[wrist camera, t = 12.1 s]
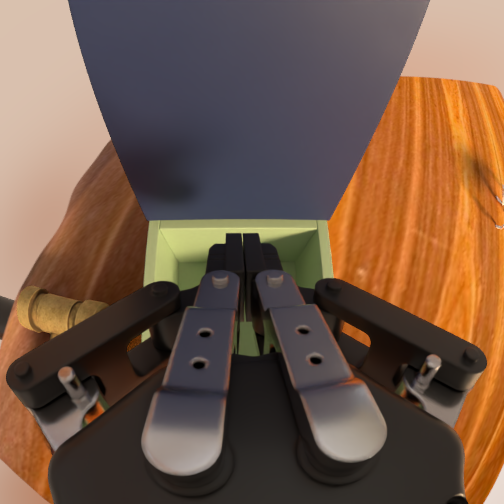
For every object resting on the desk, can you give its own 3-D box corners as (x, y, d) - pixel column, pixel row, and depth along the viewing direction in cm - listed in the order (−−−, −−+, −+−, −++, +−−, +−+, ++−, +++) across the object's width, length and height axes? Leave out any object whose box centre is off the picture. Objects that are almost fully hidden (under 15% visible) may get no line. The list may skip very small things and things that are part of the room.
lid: (436, -16, 4) (425, -21, 5) (61, -30, 3) (71, -34, 4) (329, 220, 19) (327, 211, 20) (146, 221, 18) (148, 211, 19)
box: (307, 413, 23) (339, 440, 15) (173, 416, 22) (146, 445, 14) (300, 256, 28) (326, 218, 20) (173, 257, 27) (149, 219, 19)
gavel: (96, 501, 15) (22, 464, 15) (112, 483, 20) (42, 453, 19) (96, 300, 21) (19, 281, 21) (116, 305, 25) (43, 288, 25)
